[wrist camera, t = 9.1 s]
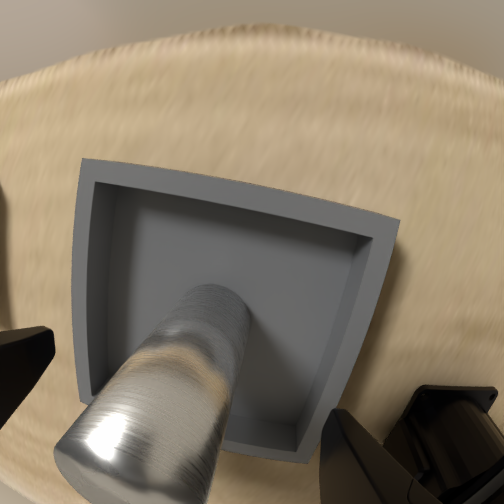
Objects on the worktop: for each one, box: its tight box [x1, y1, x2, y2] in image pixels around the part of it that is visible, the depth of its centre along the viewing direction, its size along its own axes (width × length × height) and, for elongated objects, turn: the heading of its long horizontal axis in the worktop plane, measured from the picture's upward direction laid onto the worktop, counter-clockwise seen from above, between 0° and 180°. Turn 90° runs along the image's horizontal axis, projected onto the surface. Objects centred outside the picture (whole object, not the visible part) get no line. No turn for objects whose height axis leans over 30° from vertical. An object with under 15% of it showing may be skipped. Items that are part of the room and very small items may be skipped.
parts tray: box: [71, 158, 400, 464], centre depth 12 cm, size 12×12×2 cm
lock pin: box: [53, 284, 251, 504], centre depth 9 cm, size 3×3×9 cm
